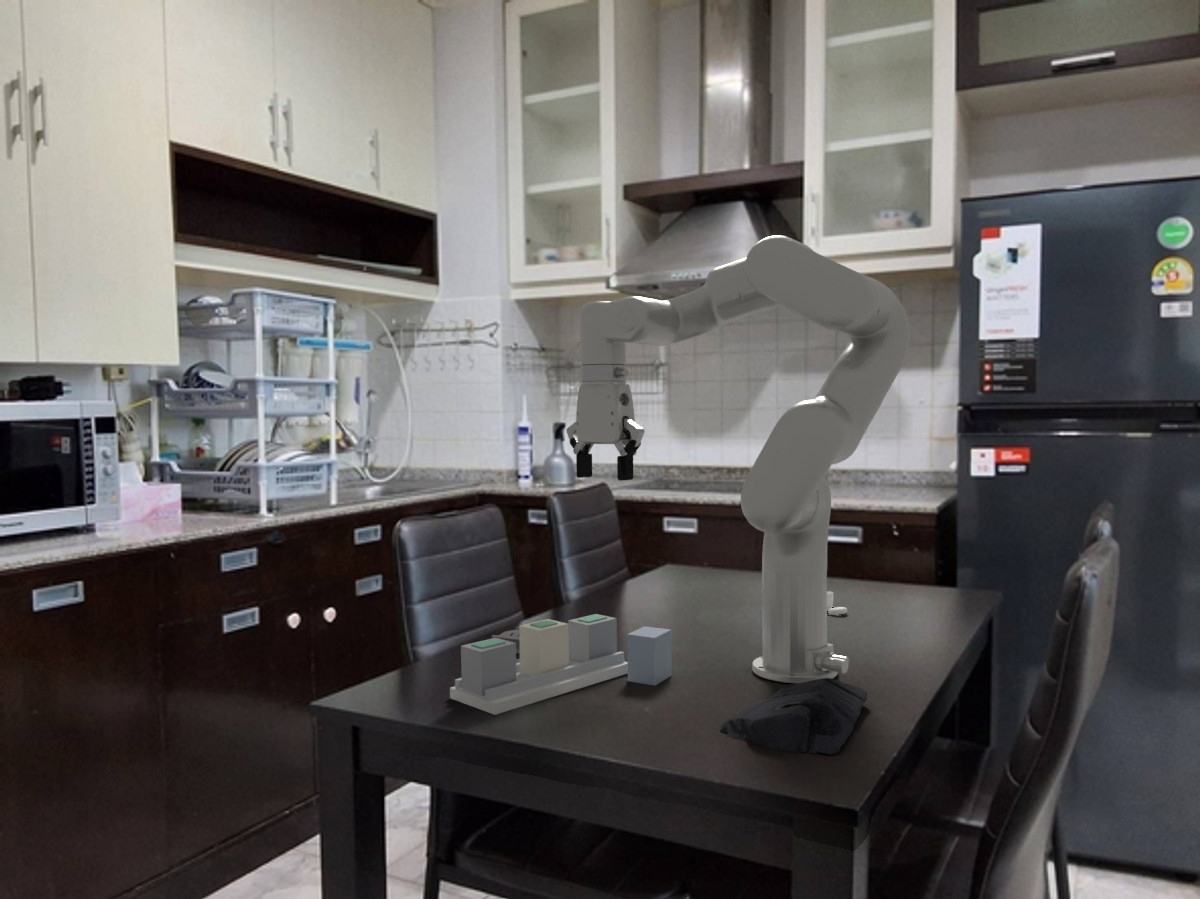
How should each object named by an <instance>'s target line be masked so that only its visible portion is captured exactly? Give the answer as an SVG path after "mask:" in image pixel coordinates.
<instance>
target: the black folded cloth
mask: <svg viewBox="0 0 1200 899" xmlns="http://www.w3.org/2000/svg"><path fill="white" fill-rule="evenodd" d="M867 700H868V692H867V691H866V690H865V689H863V688H862V687H859V686H854V685H851V684H849V683H844V682H841V681H840V680H836V679H835V678H823V679H816V680H812V681H811V680H810V681H808V682H803V683H789V684H788V685H784V686H782V687H781V688H779V689H778V690H777V691H776V692H774V693H773V694H772V695H771V696H770V697H767V698H766V699H762V700H760V701H757V702H756V703H754V704H751V705H748V707H746V708H743V709H742V710H741V711H739V712H738V713H736V714H735V715H734V716H732V717H731V718H729V719H727V721H725V722H724V723H723V724H722V725H721V728H720V729H719V731H720V732H721V733H725V734H726V736H725V737H726V738H729V739H734V740H735V739H736V740H738V741H739V740H741V741H744V742H751V743H754V744H757V745H758V746H762V747H767V748H771V749H777V750H782V751H788V752H794V753H799V752H800V753H808V754H815V755H817V754H824V755H830V756H831V755H832V756H833V755H834V756H835V755H836V754H838V753H839V752H840V750H841V747H842V746H843V745H844V744H845V743H846V741H847V739H848V738H849V737H850V735H851V734H852V732H853V730H854V728H855V725H856V723H857V722H858V720H857V719H858V718H859V717H860V713H861V711H862V708H863V706H864V704H865V703H866V701H867Z"/></svg>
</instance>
